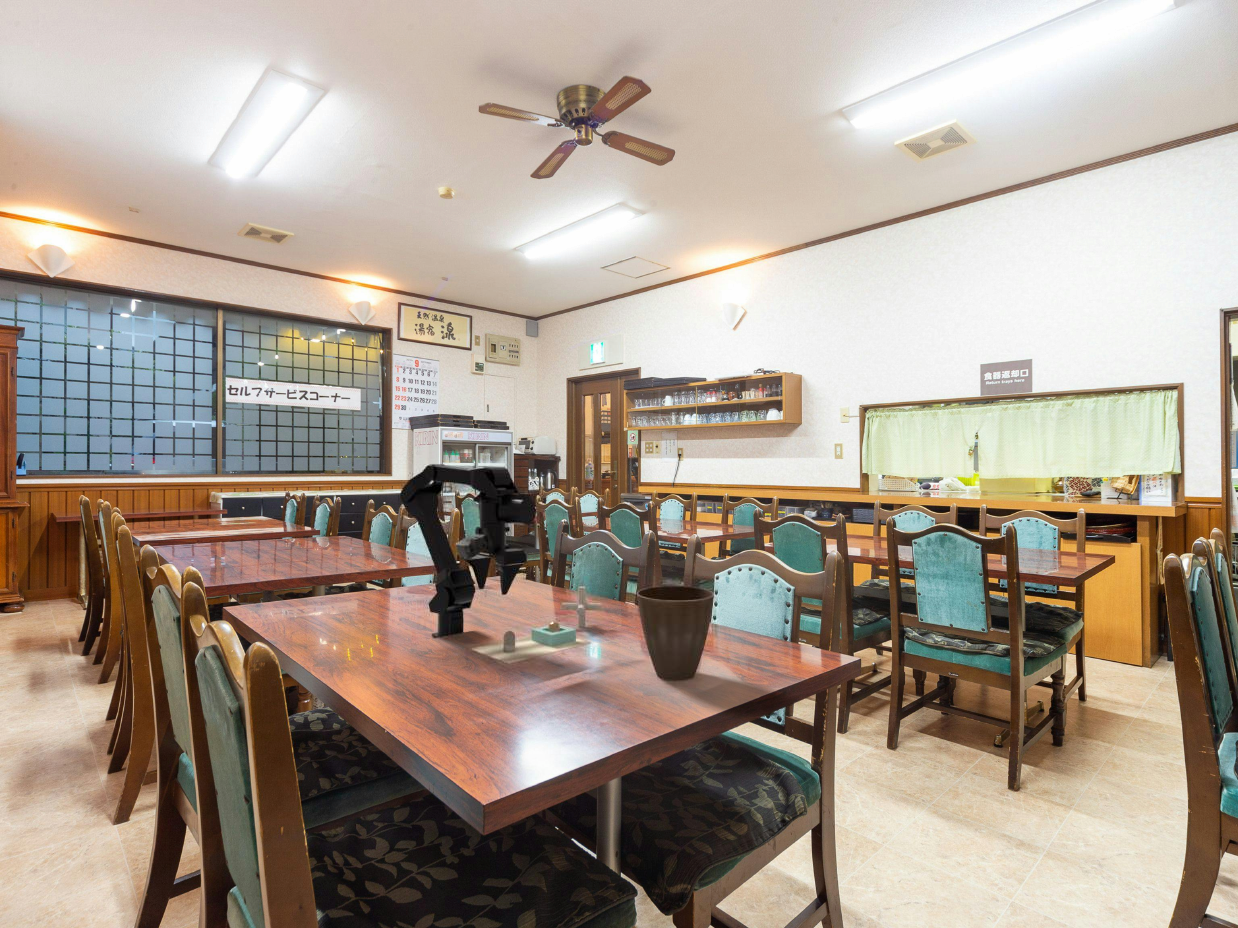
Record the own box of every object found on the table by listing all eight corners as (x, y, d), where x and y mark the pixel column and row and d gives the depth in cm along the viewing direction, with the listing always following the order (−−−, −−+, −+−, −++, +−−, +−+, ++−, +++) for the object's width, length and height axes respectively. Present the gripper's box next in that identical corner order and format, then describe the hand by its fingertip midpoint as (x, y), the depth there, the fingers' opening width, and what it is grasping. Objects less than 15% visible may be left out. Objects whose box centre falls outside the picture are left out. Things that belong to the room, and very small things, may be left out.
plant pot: (666, 693, 115) (667, 603, 115) (621, 670, 127) (622, 589, 127) (729, 679, 123) (730, 595, 123) (681, 659, 135) (682, 583, 135)
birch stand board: (470, 655, 137) (470, 628, 137) (551, 637, 152) (552, 613, 152) (508, 671, 127) (508, 641, 127) (591, 649, 142) (591, 623, 142)
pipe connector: (600, 632, 157) (600, 591, 158) (559, 631, 158) (560, 590, 158) (602, 622, 167) (602, 583, 168) (564, 621, 168) (564, 583, 168)
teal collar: (531, 640, 144) (531, 629, 144) (556, 635, 148) (556, 624, 148) (551, 646, 139) (551, 635, 139) (576, 640, 143) (576, 629, 144)
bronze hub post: (546, 640, 144) (546, 621, 144) (554, 638, 145) (554, 620, 145) (553, 642, 142) (553, 623, 142) (561, 640, 143) (561, 621, 144)
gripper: (439, 521, 146) (439, 590, 146) (485, 527, 133) (484, 603, 133) (482, 519, 154) (481, 584, 154) (529, 524, 141) (528, 596, 141)
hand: (492, 591), depth 145 cm, fingers open, 9 cm apart
